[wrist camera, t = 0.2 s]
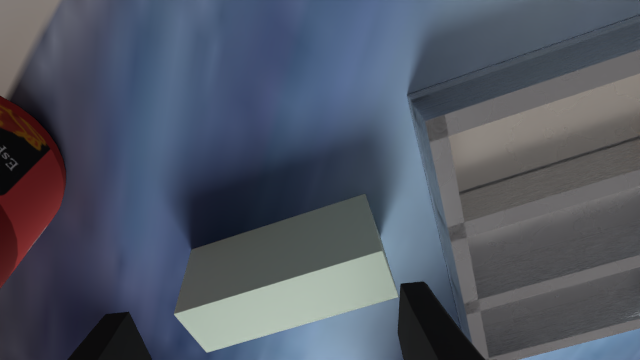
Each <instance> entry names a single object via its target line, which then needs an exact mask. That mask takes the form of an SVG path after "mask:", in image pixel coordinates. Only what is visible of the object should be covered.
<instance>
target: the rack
mask: <svg viewBox="0 0 640 360" xmlns="http://www.w3.org/2000/svg"><path fill="white" fill-rule="evenodd" d="M407 97H408V102H409V106H410V110H411V115H412V119H413V123H414V128H415V132H416V136H417V141H418V145H419V149H420V154H421V158H422V162H423V167H424V171H425V175H426V180H427V184H428V188H429V193H430V197H431V201H432V205H433V210H434V214H435V218H436V223H437V227H438V231H439V236H440V240H441V244H442V249H443V253H444V257H445V262H446V266H447V270H448V275H449V279H450V283H451V288H452V292H453V296H454V301H455V305H456V309H457V314H458V318H459V322H460V327H461V331H462V332H463V334H464V335H465V336H466V337H467V338H468V340H469V341H470V342H471V343H472V344H473V345H474V347H475V348H476V349H477V350H478V351H479V353H480V354H481V355H482V356H483V357H484V358H485V360H519V359H522V358H526V357H530V356H534V355H538V354H542V353H546V352H550V351H553V350H557V349H561V348H565V347H569V346H573V345H577V344H581V343H584V342H588V341H592V340H596V339H600V338H604V337H608V336H611V335H615V334H619V333H623V332H627V331H631V330H635V329H639V328H640V15H639V16H636V17H633V18H630V19H627V20H624V21H621V22H618V23H615V24H612V25H609V26H607V27H604V28H601V29H598V30H595V31H592V32H589V33H586V34H583V35H580V36H577V37H575V38H572V39H569V40H566V41H563V42H560V43H557V44H554V45H551V46H548V47H545V48H543V49H540V50H537V51H534V52H531V53H528V54H525V55H522V56H519V57H516V58H513V59H511V60H508V61H505V62H502V63H499V64H496V65H493V66H490V67H487V68H484V69H481V70H478V71H476V72H473V73H470V74H467V75H464V76H461V77H458V78H455V79H452V80H449V81H446V82H444V83H441V84H438V85H435V86H432V87H429V88H426V89H423V90H420V91H417V92H414V93H412V94H409V95H407Z"/></svg>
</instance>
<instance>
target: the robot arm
mask: <svg viewBox="0 0 640 360" xmlns="http://www.w3.org/2000/svg"><path fill="white" fill-rule="evenodd" d="M398 336H399V341H400V346H401V350H402V355H403V359H404V360H485V358H484V357H483V356H482V355H481V354H480V353H479V351H478V350H477V349H476V348H475V347H474V345H473V344H472V343H471V342H470V341H469V340H468V338H467V337H466V336H465V335H464V334H463V332H462V331H461V330H460V329H459V327H458V326H457V325H456V323H455V322H454V321H453V320H452V318H451V317H450V316H449V314H448V313H447V312H446V310H445V309H444V308H443V306H442V305H441V304H440V302H439V301H438V300H437V298H436V297H435V295H434V294H433V292H432V291H431V290H430V288H429V287H428V285H427V284H426V283H425V282H413V283H403V284H401V285H400V302H399V320H398ZM68 360H152V358H151V356H150V354H149V352H148V350H147V348H146V346H145V344H144V342H143V340H142V338H141V336H140V334H139V332H138V330H137V327H136V325H135V323H134V321H133V319H132V317H131V315H130V313H129V312H123V313H113V314H105V316H104V317H103V318H102V319H101V320H100V321H99V323H98V324H97V325H96V326H95V327H94V328H93V330H92V331H91V332H90V333H89V334H88V336H87V337H86V338H85V339H84V340H83V342H82V343H81V344H80V345H79V346H78V348H77V349H76V350H75V351H74V352H73V354H72V355H71V356H70V357H69V358H68Z"/></svg>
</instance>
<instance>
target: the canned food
mask: <svg viewBox="0 0 640 360" xmlns="http://www.w3.org/2000/svg"><path fill="white" fill-rule="evenodd" d="M65 185H66V170H65V166H64V161H63V158H62V156H61V154H60V151H59V149H58V147H57V145H56V144H55V142H54V141H53V139H52V138H51V136H50V135H49V133H48V132H47V131H46V130H45V129H44V128H43V127H42V126H41V125H40V124H39V123H38V122H37V121H36V119H35V118H33V117H32V116H31V115H29V114H28V113H27V112H26V111H24V110H23V109H22V108H20V107H19V106H17V105H16V104H14V103H12V102H10V101H8V100H7V99H5V98H3V97H1V96H0V288H1V287H2V286H3V284H4V283H5V282H6V280H7V279H8V278H9V276H10V275H11V274H12V272H13V271H14V270H15V268H16V267H17V266H18V264H19V263H20V262H21V260H22V259H23V258H24V256H25V255H26V254H27V252H28V251H29V250H30V248H31V247H32V246H33V244H34V243H35V242H36V240H37V239H38V238H39V236H40V235H41V234H42V232H43V231H44V230H45V228H46V227H47V226H48V224H49V223H50V222H51V220H52V219H53V217H54V216H55V214H56V213H57V211H58V210H59V208H60V205H61V202H62V199H63V195H64V190H65Z"/></svg>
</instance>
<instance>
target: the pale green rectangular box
mask: <svg viewBox="0 0 640 360" xmlns="http://www.w3.org/2000/svg"><path fill="white" fill-rule="evenodd" d="M397 297H398V293H397V290H396V287H395V284H394V280H393V277H392V274H391V270H390V267H389V264H388V261H387V257H386V254H385V251H384V247H383V244H382V241H381V238H380V235H379V232H378V229H377V226H376V223H375V220H374V217H373V214H372V212H371V209H370V206H369V203H368V200H367V197H366V194H363V195H359V196H356V197H353V198H350V199H347V200H344V201H341V202H338V203H335V204H332V205H328V206H325V207H322V208H319V209H316V210H313V211H310V212H307V213H304V214H301V215H297V216H294V217H291V218H288V219H285V220H282V221H279V222H276V223H273V224H270V225H266V226H263V227H260V228H257V229H254V230H251V231H248V232H245V233H242V234H239V235H235V236H232V237H229V238H226V239H223V240H220V241H217V242H214V243H211V244H208V245H204V246H201V247H198V248H195V249H192V250H191V253H190V257H189V260H188V264H187V268H186V271H185V275H184V279H183V282H182V286H181V290H180V293H179V297H178V301H177V304H176V308H175V312H174V315H175V316H176V317H177V318H178V320H179V321H180V322H181V323H182V324H183V325H184V327H185V328H186V329H187V330H188V331H189V332H190V334H191V335H192V336H193V337H194V338H195V339H196V341H197V342H198V343H199V344H200V345H201V346H202V348H203V349H204V350H205V351H206V352H210V351H214V350H217V349H221V348H224V347H228V346H231V345H235V344H238V343H241V342H245V341H248V340H252V339H255V338H259V337H262V336H266V335H269V334H273V333H276V332H279V331H283V330H286V329H290V328H293V327H297V326H300V325H304V324H307V323H311V322H314V321H318V320H321V319H324V318H328V317H331V316H335V315H338V314H342V313H345V312H349V311H352V310H356V309H359V308H362V307H366V306H369V305H373V304H376V303H380V302H383V301H387V300H390V299H394V298H397Z"/></svg>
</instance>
